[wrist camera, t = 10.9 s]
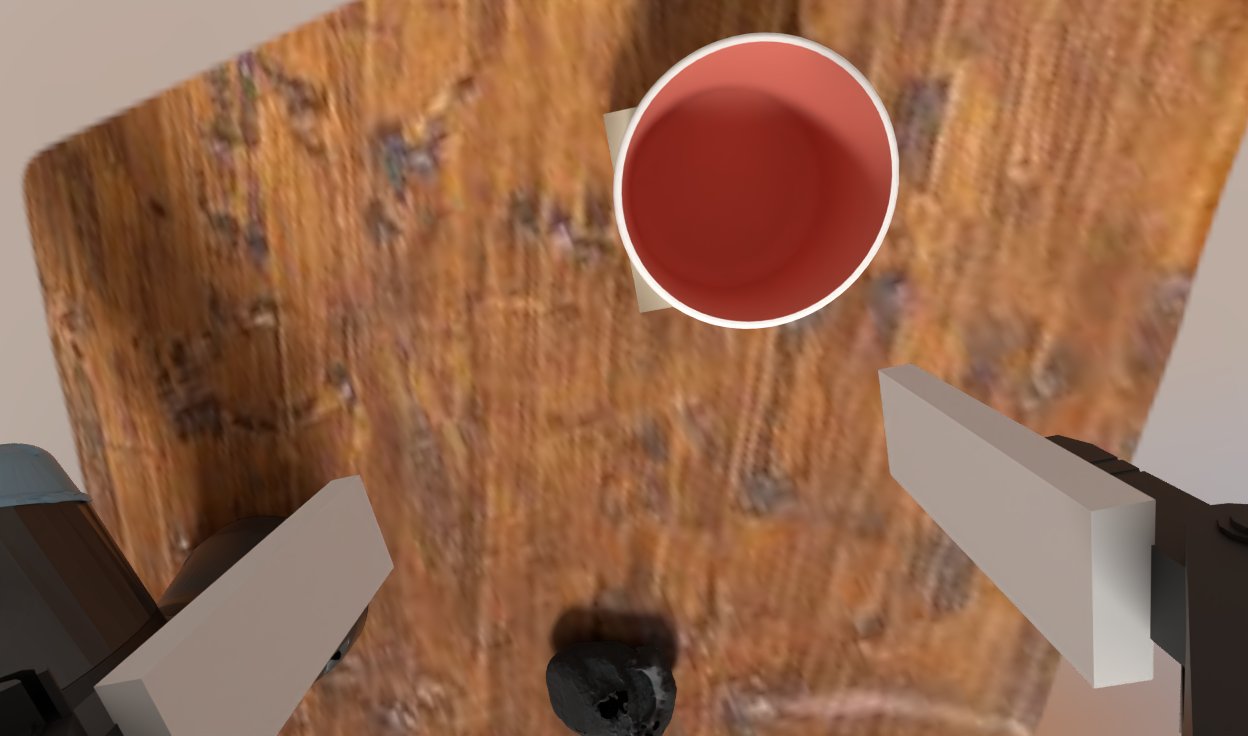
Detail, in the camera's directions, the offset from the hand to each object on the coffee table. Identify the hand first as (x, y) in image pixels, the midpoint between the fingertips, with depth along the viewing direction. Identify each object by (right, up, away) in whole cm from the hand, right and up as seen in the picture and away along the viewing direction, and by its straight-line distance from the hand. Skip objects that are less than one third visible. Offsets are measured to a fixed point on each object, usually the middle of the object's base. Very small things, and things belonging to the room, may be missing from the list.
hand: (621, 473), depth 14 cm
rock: (-1, -24, +37) cm, 44 cm away
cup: (+5, +12, +16) cm, 20 cm away
